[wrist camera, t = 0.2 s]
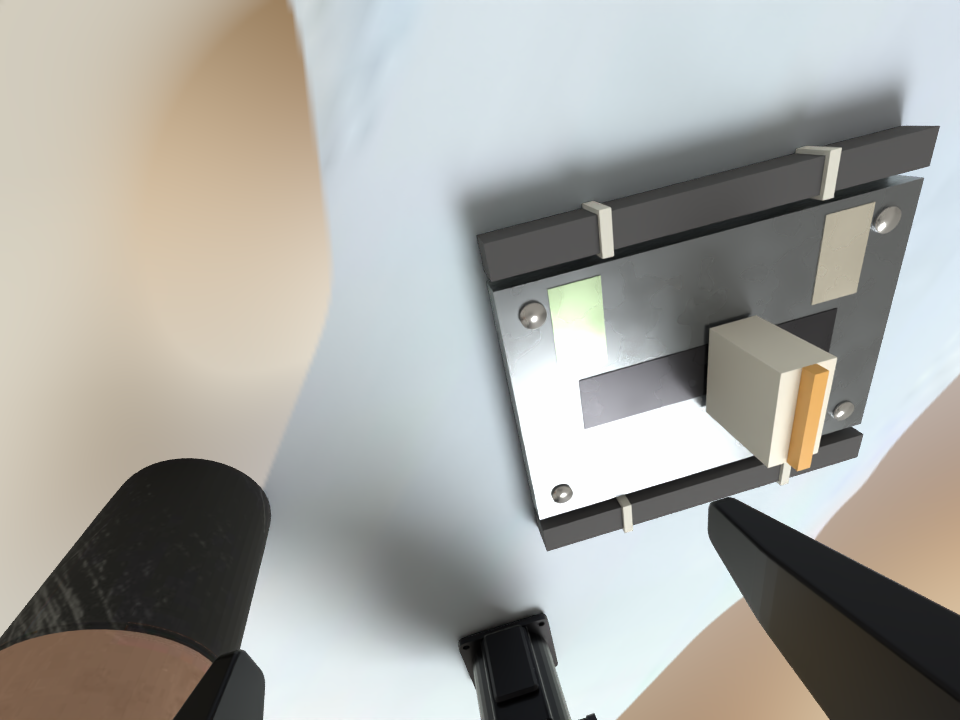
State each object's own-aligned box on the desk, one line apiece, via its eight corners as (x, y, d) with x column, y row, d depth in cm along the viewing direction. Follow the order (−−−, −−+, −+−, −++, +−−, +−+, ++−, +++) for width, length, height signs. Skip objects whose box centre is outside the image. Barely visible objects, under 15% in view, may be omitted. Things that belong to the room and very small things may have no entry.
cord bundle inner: (831, 441, 30) (859, 461, 28) (538, 529, 28) (548, 556, 27) (837, 414, 29) (867, 433, 27) (533, 505, 27) (543, 531, 26)
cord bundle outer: (892, 167, 21) (932, 171, 20) (484, 275, 20) (493, 288, 19) (903, 121, 20) (946, 120, 19) (475, 230, 19) (483, 240, 18)
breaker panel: (838, 409, 28) (863, 425, 27) (532, 500, 27) (540, 521, 26) (891, 174, 22) (927, 178, 20) (486, 281, 20) (494, 293, 19)
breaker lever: (747, 399, 24) (828, 461, 20) (705, 411, 24) (778, 477, 20) (756, 315, 22) (851, 364, 17) (709, 328, 22) (793, 381, 17)
